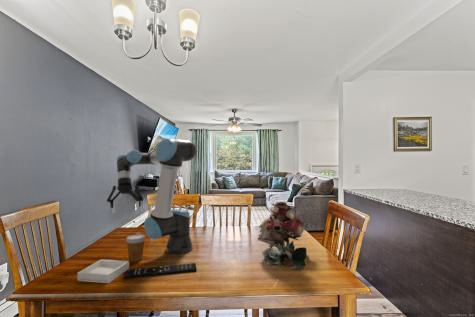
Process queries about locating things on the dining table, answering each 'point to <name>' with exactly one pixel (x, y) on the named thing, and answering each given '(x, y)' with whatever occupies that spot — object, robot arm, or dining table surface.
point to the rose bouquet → (282, 236)
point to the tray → (103, 271)
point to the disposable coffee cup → (135, 247)
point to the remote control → (160, 271)
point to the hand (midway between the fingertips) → (126, 212)
